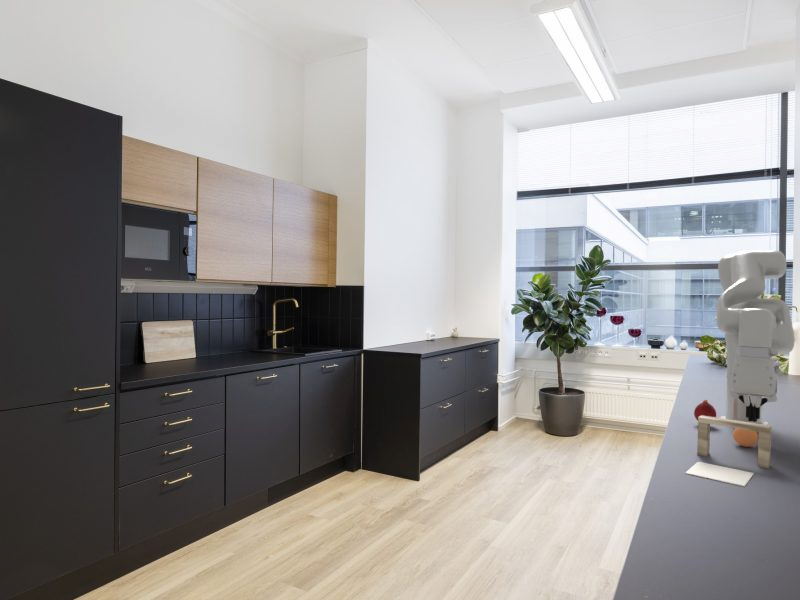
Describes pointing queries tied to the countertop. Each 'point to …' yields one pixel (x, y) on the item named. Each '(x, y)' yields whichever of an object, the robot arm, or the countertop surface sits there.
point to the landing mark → (720, 473)
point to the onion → (704, 410)
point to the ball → (745, 437)
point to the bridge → (763, 430)
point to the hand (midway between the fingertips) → (752, 420)
